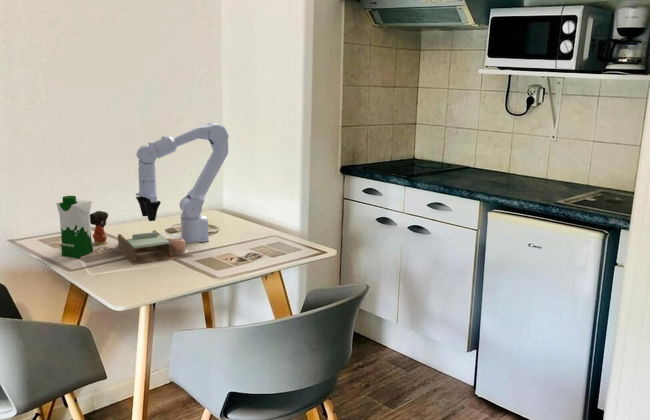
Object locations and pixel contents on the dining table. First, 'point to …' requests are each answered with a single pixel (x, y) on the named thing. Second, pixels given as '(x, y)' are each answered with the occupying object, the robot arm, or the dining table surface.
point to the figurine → (99, 227)
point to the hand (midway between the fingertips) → (148, 218)
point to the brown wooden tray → (149, 252)
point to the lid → (147, 240)
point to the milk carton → (75, 227)
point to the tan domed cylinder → (178, 245)
